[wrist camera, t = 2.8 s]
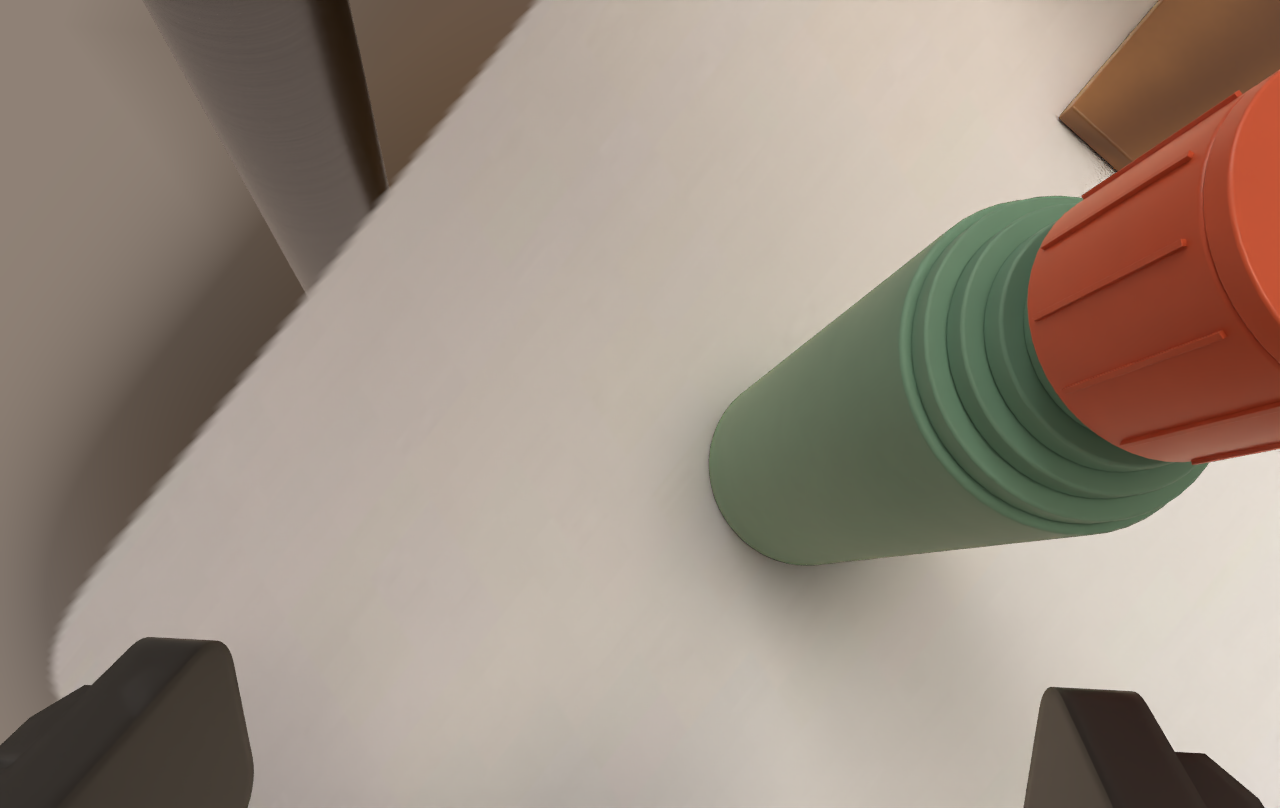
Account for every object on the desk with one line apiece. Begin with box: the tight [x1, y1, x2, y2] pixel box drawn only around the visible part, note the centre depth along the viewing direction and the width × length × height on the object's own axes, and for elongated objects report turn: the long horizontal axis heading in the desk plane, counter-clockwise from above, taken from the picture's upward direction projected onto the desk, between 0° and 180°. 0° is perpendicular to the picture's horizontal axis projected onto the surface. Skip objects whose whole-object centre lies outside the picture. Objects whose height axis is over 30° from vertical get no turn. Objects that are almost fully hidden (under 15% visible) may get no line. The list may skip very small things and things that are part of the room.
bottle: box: [709, 196, 1209, 565], centre depth 19 cm, size 6×6×18 cm
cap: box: [1027, 70, 1280, 465], centre depth 12 cm, size 4×4×4 cm
